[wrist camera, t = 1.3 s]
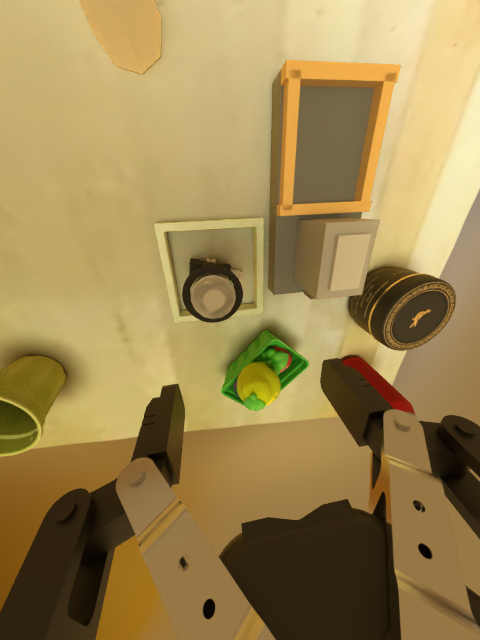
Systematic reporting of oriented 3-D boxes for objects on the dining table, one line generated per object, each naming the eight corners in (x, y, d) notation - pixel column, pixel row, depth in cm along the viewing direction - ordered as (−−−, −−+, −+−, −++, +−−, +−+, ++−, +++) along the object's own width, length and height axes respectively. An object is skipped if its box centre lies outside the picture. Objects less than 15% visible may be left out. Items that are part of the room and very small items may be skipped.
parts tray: (175, 316, 29) (174, 322, 28) (156, 222, 24) (153, 223, 22) (259, 307, 31) (262, 313, 29) (259, 217, 25) (263, 218, 24)
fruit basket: (250, 388, 38) (268, 452, 28) (210, 366, 34) (214, 431, 24) (297, 343, 35) (336, 397, 25) (259, 313, 31) (286, 363, 21)
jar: (334, 321, 34) (367, 349, 27) (362, 257, 30) (410, 272, 23) (385, 328, 36) (427, 355, 30) (418, 269, 32) (476, 286, 26)
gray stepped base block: (268, 289, 30) (293, 320, 22) (272, 83, 20) (320, 3, 12) (336, 283, 31) (383, 309, 23) (370, 86, 21) (471, 14, 13)
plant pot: (-15, 378, 29) (-91, 439, 21) (17, 330, 27) (-55, 379, 19) (60, 405, 33) (18, 465, 25) (93, 366, 31) (57, 418, 23)
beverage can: (333, 388, 41) (378, 450, 31) (324, 365, 38) (372, 425, 28) (366, 373, 41) (424, 431, 30) (360, 348, 38) (422, 403, 27)
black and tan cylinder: (243, 251, 27) (264, 274, 18) (237, 292, 29) (254, 329, 20) (188, 245, 25) (182, 265, 17) (186, 288, 28) (180, 326, 19)
